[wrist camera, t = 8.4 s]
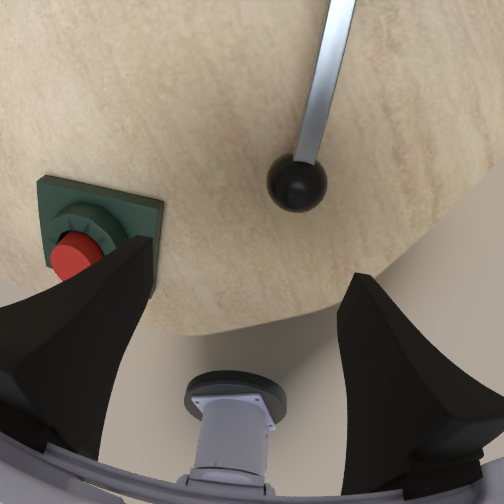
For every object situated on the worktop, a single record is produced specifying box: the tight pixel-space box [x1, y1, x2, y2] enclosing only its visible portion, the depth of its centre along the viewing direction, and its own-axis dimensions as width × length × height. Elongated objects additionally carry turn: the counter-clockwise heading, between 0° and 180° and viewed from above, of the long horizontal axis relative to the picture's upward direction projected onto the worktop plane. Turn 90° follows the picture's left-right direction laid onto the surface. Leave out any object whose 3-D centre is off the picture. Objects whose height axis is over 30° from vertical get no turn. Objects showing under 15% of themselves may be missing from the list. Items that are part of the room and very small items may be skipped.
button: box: [50, 231, 104, 281], centre depth 19 cm, size 4×4×2 cm
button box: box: [37, 175, 164, 299], centre depth 21 cm, size 10×8×3 cm
